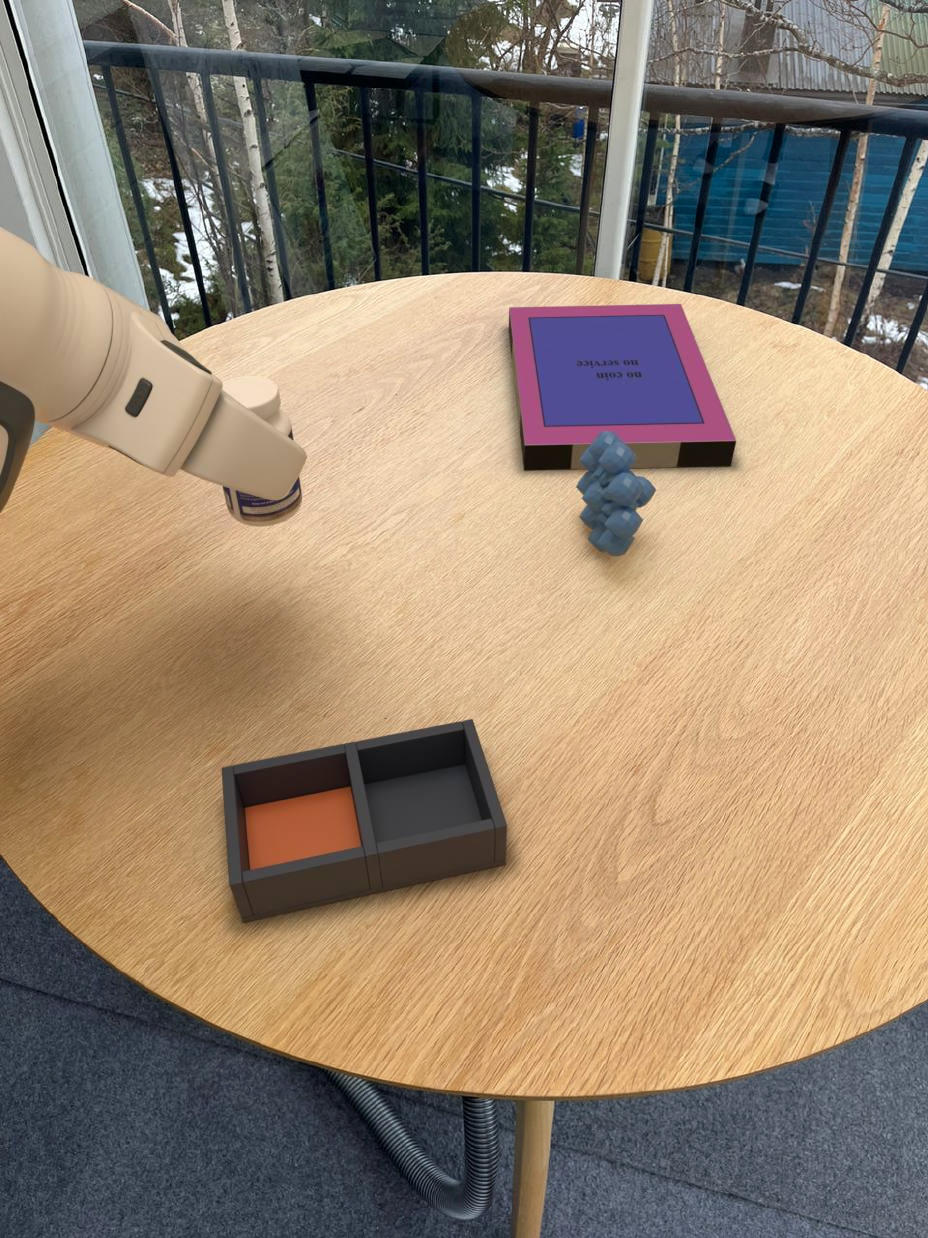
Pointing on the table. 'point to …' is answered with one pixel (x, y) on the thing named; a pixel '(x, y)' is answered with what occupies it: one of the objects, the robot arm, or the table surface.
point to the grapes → (612, 494)
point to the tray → (360, 819)
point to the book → (614, 386)
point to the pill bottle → (265, 403)
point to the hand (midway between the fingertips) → (262, 443)
